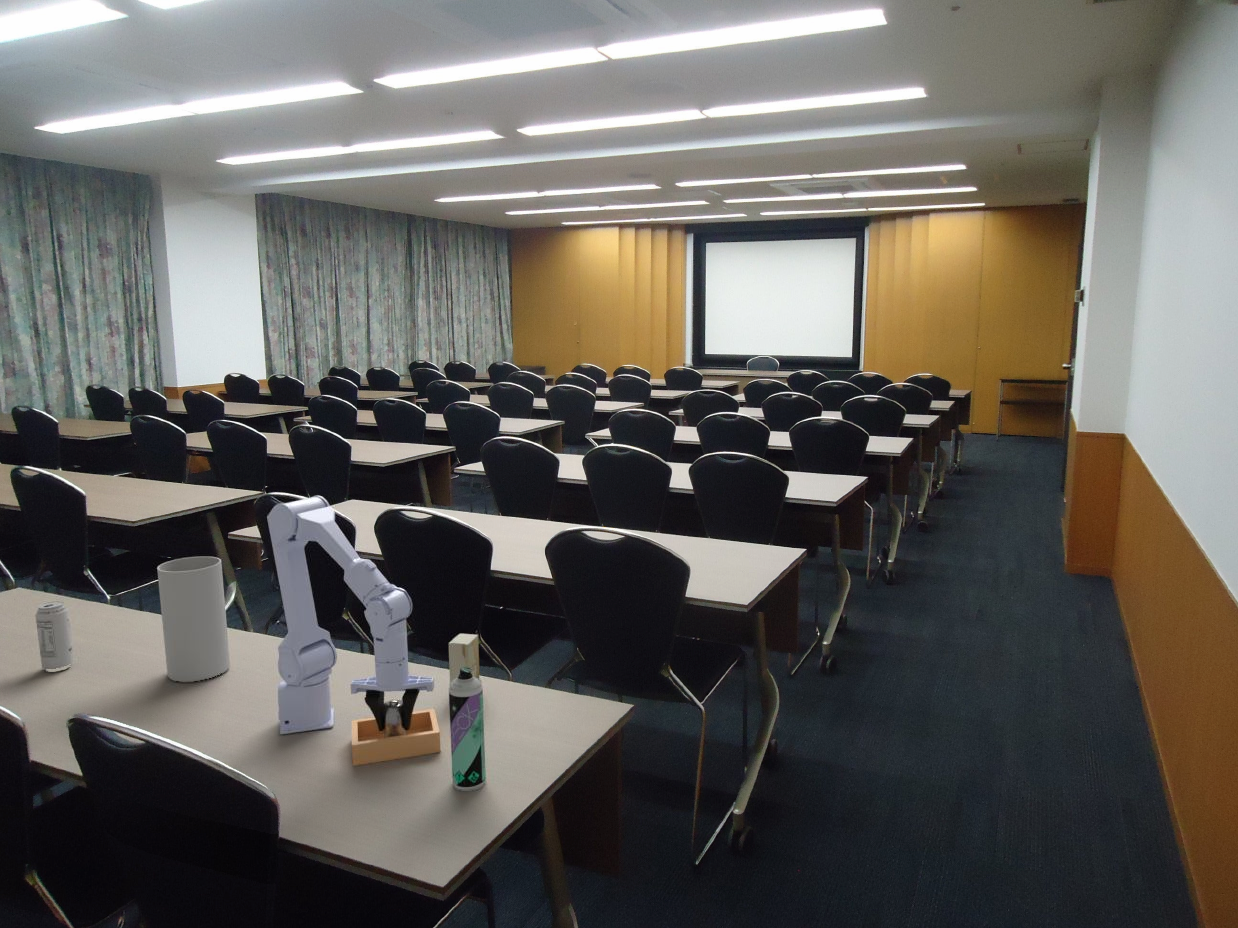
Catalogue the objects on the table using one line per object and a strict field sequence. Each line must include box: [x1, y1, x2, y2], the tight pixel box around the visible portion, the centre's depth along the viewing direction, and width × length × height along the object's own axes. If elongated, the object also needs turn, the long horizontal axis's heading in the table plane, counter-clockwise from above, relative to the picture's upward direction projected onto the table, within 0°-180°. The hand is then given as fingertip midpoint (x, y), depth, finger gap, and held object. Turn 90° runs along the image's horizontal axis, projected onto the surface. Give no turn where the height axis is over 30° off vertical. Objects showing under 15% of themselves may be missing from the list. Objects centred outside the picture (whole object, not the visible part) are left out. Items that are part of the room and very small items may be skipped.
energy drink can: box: [35, 601, 75, 670], centre depth 188 cm, size 6×6×15 cm
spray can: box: [448, 667, 487, 792], centre depth 138 cm, size 6×6×20 cm
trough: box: [351, 708, 442, 767], centre depth 152 cm, size 15×10×4 cm, turn 108°
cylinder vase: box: [156, 556, 231, 683], centre depth 184 cm, size 12×12×25 cm
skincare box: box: [448, 633, 480, 683], centre depth 172 cm, size 6×4×12 cm
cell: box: [383, 698, 407, 738], centre depth 151 cm, size 4×4×7 cm
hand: (395, 728), depth 151 cm, fingers closed on cell, 4 cm apart
